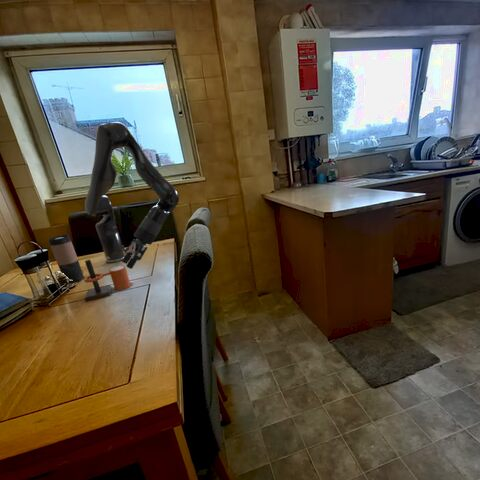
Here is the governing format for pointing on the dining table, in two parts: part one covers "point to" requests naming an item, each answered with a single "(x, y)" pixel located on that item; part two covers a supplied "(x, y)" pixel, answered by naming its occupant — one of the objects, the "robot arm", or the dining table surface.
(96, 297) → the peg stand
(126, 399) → the dining table surface
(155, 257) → the dining table surface
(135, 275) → the dining table surface
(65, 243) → the travel mug
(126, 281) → the measuring cup
